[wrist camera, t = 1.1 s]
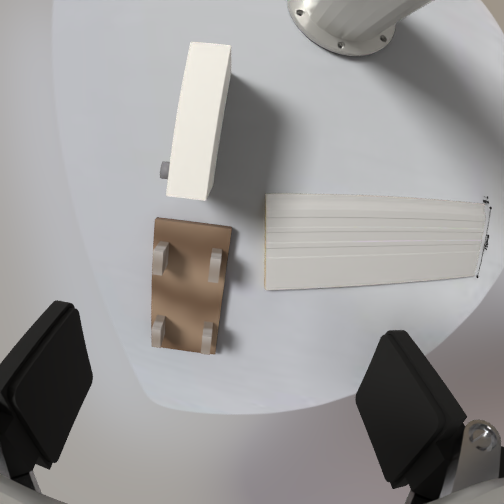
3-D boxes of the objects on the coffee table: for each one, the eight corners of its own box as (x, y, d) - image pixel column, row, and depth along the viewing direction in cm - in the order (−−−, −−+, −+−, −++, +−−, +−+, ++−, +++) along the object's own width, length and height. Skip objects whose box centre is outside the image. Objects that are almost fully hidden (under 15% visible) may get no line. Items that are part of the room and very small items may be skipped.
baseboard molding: (264, 178, 31) (263, 284, 35) (267, 182, 29) (266, 296, 33) (482, 192, 33) (468, 272, 37) (495, 197, 30) (479, 279, 34)
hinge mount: (157, 217, 31) (147, 226, 27) (231, 226, 32) (231, 237, 28) (153, 341, 36) (146, 360, 33) (215, 349, 37) (214, 370, 33)
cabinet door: (192, 69, 26) (177, 41, 18) (231, 73, 27) (231, 45, 18) (174, 181, 30) (153, 194, 22) (213, 185, 31) (205, 200, 22)
